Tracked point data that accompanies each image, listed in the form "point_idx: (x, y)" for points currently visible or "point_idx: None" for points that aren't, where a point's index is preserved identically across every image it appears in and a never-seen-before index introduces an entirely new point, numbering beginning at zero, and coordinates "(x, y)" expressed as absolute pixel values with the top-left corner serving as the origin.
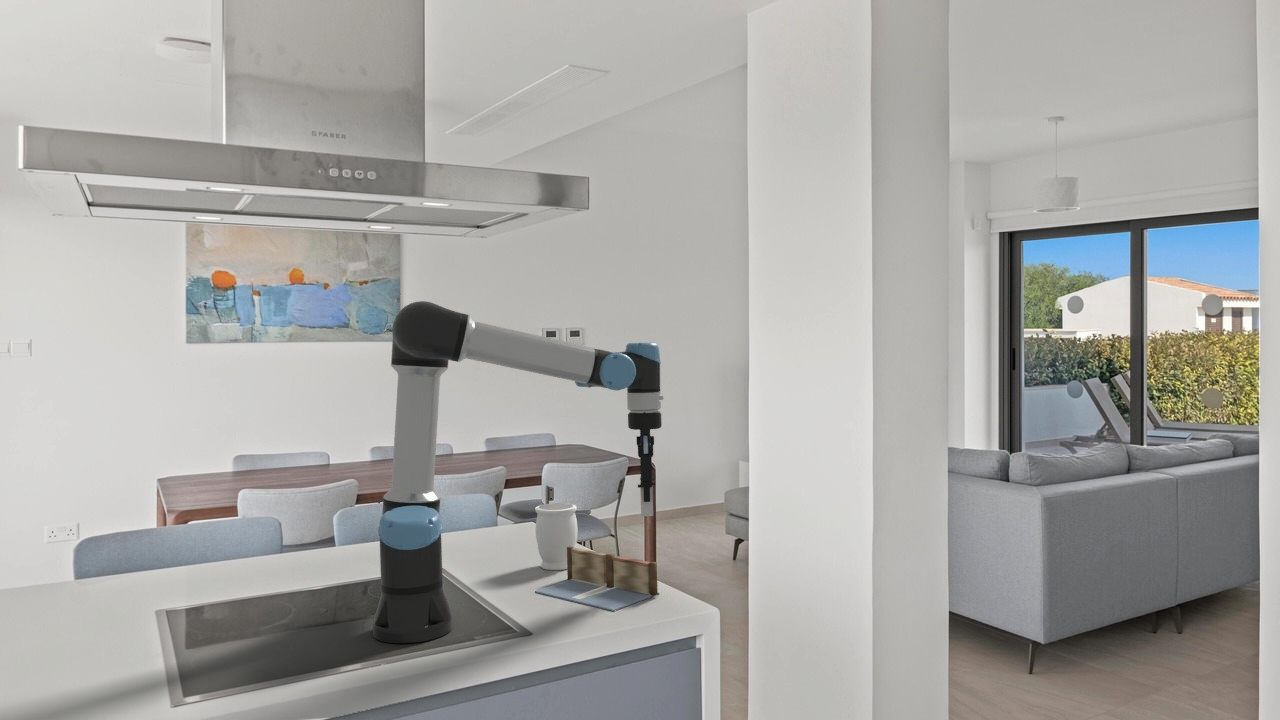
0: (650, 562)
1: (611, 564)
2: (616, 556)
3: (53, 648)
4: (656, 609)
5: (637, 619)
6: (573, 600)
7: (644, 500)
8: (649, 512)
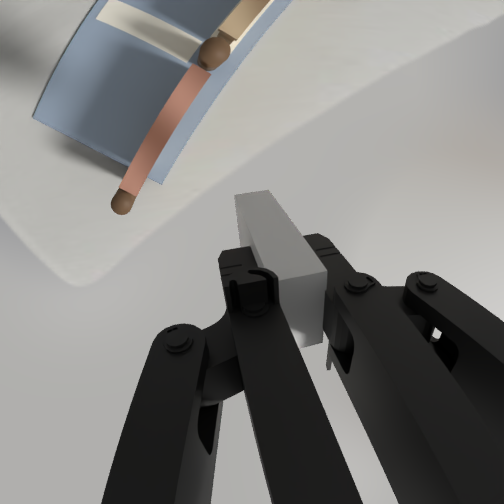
0: (123, 196)
1: (200, 59)
2: (203, 73)
3: None
4: (60, 198)
5: (4, 177)
6: (92, 8)
7: (218, 261)
8: (241, 242)
